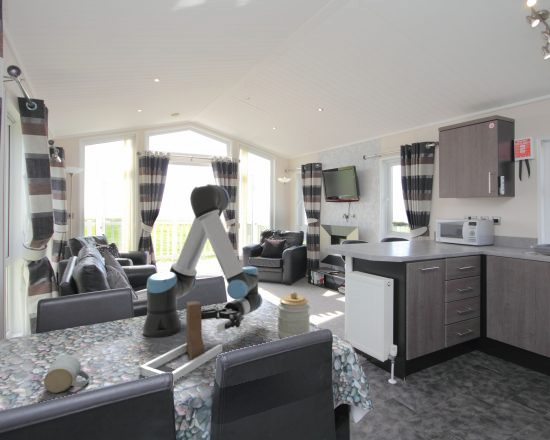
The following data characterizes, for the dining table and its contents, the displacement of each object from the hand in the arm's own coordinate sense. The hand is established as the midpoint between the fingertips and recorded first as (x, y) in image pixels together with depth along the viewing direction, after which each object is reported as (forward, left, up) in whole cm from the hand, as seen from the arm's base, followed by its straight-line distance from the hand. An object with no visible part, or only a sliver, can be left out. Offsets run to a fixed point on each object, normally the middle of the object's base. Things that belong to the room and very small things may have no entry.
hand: (202, 325), depth 115 cm
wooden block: (-1, -2, -10) cm, 10 cm away
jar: (+21, +31, -10) cm, 38 cm away
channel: (-1, -8, -10) cm, 13 cm away
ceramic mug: (-20, -34, -10) cm, 41 cm away
